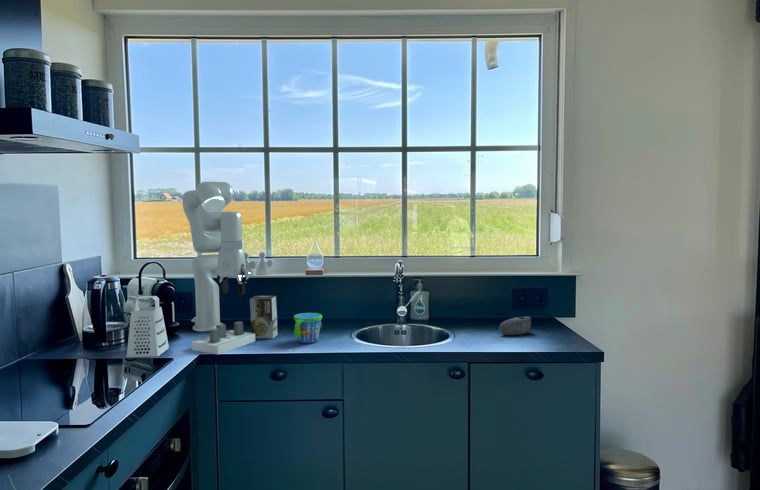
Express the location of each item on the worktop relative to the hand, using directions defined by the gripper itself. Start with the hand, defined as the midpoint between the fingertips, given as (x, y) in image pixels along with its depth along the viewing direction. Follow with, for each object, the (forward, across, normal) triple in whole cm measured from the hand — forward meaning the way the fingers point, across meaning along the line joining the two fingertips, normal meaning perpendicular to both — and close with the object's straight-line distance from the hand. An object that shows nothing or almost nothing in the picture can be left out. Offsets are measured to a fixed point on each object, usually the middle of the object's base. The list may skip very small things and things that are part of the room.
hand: (233, 293), depth 175 cm
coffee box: (+20, 0, +16) cm, 26 cm away
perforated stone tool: (+20, +89, +63) cm, 111 cm away
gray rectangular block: (+17, -4, +6) cm, 18 cm away
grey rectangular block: (+17, -7, 0) cm, 18 cm away
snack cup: (+20, +20, +18) cm, 34 cm away
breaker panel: (+20, -5, 0) cm, 21 cm away
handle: (+17, -4, -6) cm, 18 cm away
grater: (+20, -23, -18) cm, 36 cm away
